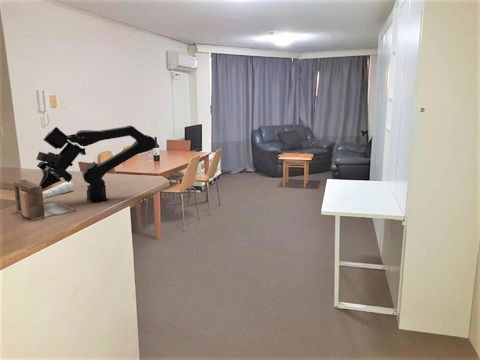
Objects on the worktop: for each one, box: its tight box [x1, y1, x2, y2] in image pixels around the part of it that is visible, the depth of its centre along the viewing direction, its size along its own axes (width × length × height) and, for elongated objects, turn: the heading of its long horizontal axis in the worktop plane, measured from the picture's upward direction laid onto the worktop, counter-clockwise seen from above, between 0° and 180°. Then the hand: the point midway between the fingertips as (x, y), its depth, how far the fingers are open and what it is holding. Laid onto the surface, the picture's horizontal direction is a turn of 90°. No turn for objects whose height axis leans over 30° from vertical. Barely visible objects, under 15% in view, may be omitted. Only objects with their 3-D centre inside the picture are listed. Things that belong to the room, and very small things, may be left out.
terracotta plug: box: [20, 191, 45, 218], centre depth 135 cm, size 6×4×8 cm, turn 138°
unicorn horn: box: [42, 181, 75, 199], centre depth 162 cm, size 5×24×5 cm, turn 151°
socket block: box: [13, 179, 76, 221], centre depth 142 cm, size 15×15×11 cm
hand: (39, 189), depth 143 cm, fingers closed
